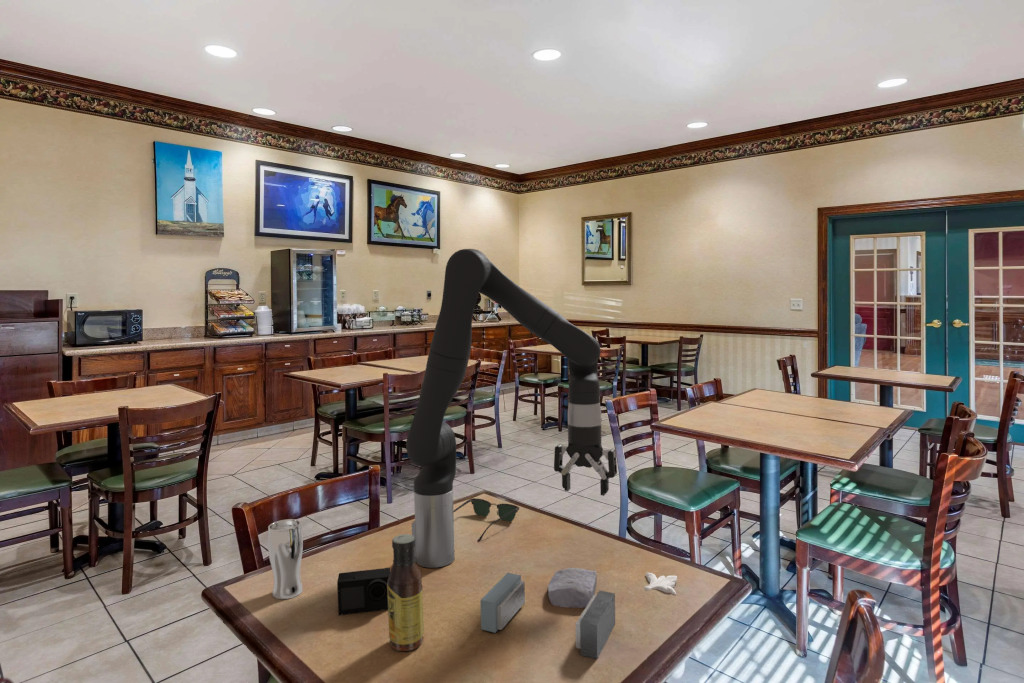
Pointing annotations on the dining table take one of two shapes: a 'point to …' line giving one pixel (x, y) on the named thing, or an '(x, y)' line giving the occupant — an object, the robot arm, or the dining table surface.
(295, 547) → the beer glass
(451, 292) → the robot arm
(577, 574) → the stone block
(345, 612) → the digital camera
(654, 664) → the dining table surface
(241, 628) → the dining table surface
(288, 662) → the dining table surface
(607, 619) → the block
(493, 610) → the block
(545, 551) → the dining table surface
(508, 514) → the sunglasses
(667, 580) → the acanthus leaf ornament
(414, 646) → the sauce bottle
